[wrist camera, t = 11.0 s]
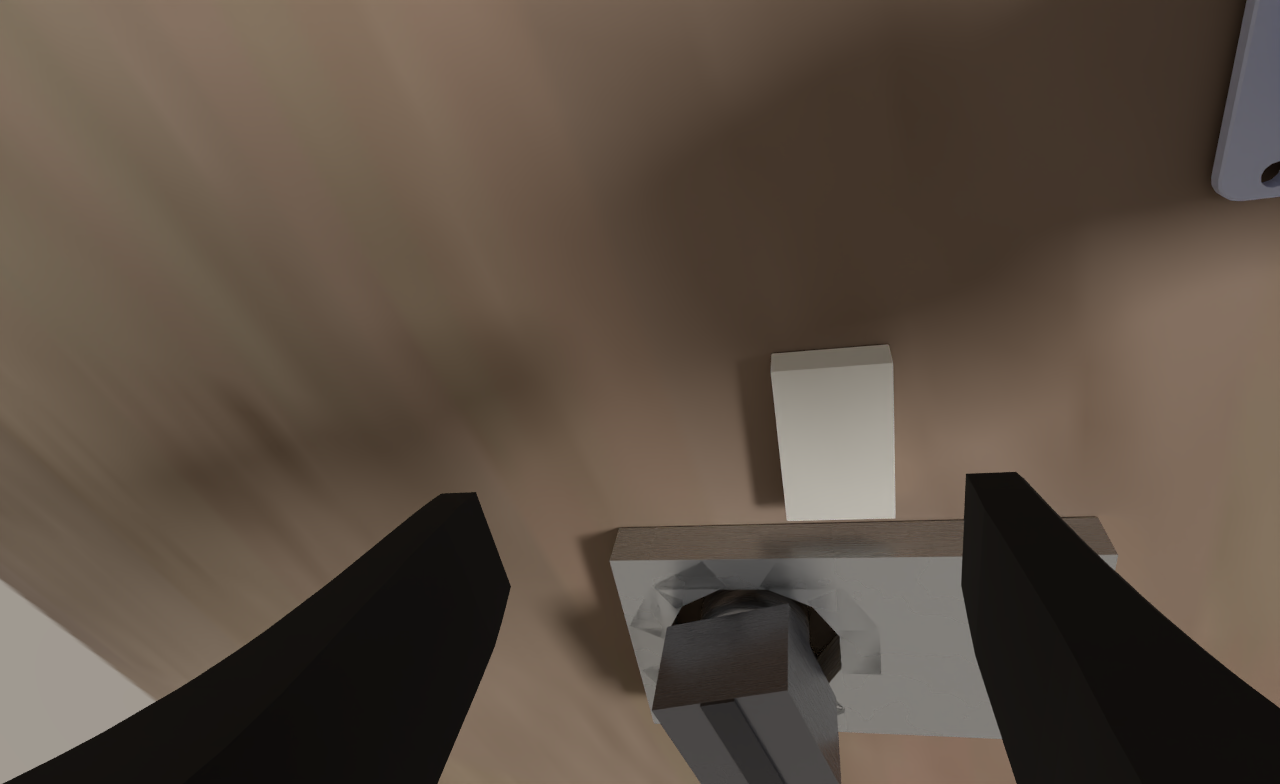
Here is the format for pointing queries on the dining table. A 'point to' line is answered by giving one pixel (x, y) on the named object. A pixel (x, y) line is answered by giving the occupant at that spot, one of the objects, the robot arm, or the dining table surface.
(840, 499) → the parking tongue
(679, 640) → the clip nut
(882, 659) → the flange plate
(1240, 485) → the dining table surface
